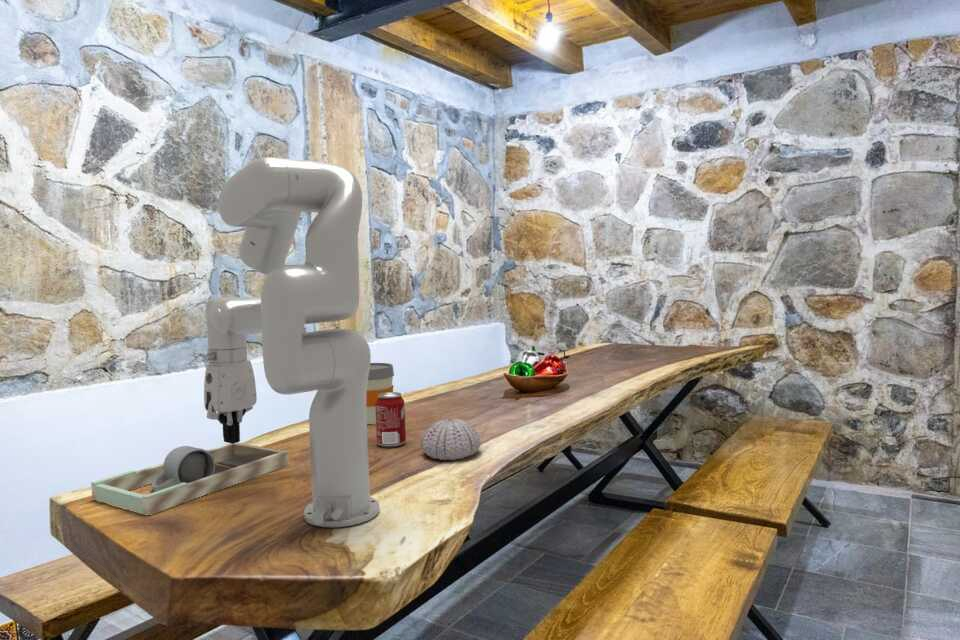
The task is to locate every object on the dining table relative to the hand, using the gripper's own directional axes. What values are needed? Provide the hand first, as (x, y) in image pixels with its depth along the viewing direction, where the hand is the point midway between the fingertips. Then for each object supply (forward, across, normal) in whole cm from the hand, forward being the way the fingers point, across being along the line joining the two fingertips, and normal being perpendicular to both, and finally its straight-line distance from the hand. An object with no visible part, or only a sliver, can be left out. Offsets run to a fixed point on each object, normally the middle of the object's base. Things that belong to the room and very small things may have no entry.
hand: (231, 441), depth 139 cm
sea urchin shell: (+5, +29, -36) cm, 47 cm away
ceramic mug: (+6, -12, 0) cm, 14 cm away
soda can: (+6, +29, -19) cm, 36 cm away
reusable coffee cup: (+6, +46, 0) cm, 47 cm away
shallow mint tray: (+6, -21, -1) cm, 22 cm away
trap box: (+6, -9, -1) cm, 11 cm away
